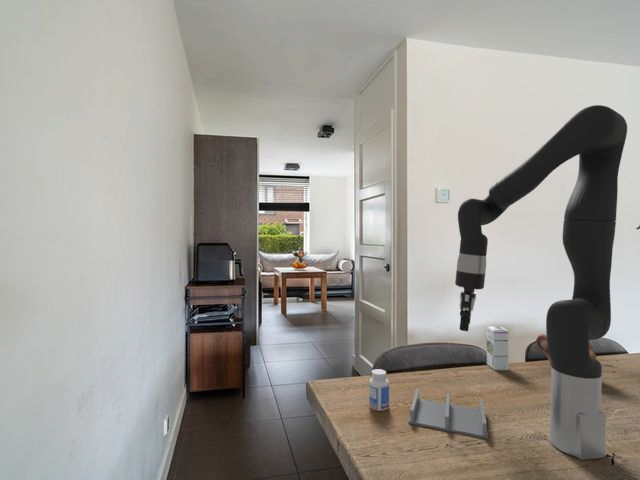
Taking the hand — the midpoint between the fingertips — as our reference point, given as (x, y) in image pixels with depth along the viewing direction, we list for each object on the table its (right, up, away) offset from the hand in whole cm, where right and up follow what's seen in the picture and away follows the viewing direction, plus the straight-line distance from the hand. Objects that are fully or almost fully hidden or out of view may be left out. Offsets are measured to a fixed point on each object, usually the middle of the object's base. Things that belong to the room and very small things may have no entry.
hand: (464, 326), depth 100 cm
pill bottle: (-25, -22, -2) cm, 33 cm away
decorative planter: (+45, -23, +24) cm, 56 cm away
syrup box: (+24, -22, +29) cm, 44 cm away
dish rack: (-8, -22, -8) cm, 24 cm away
